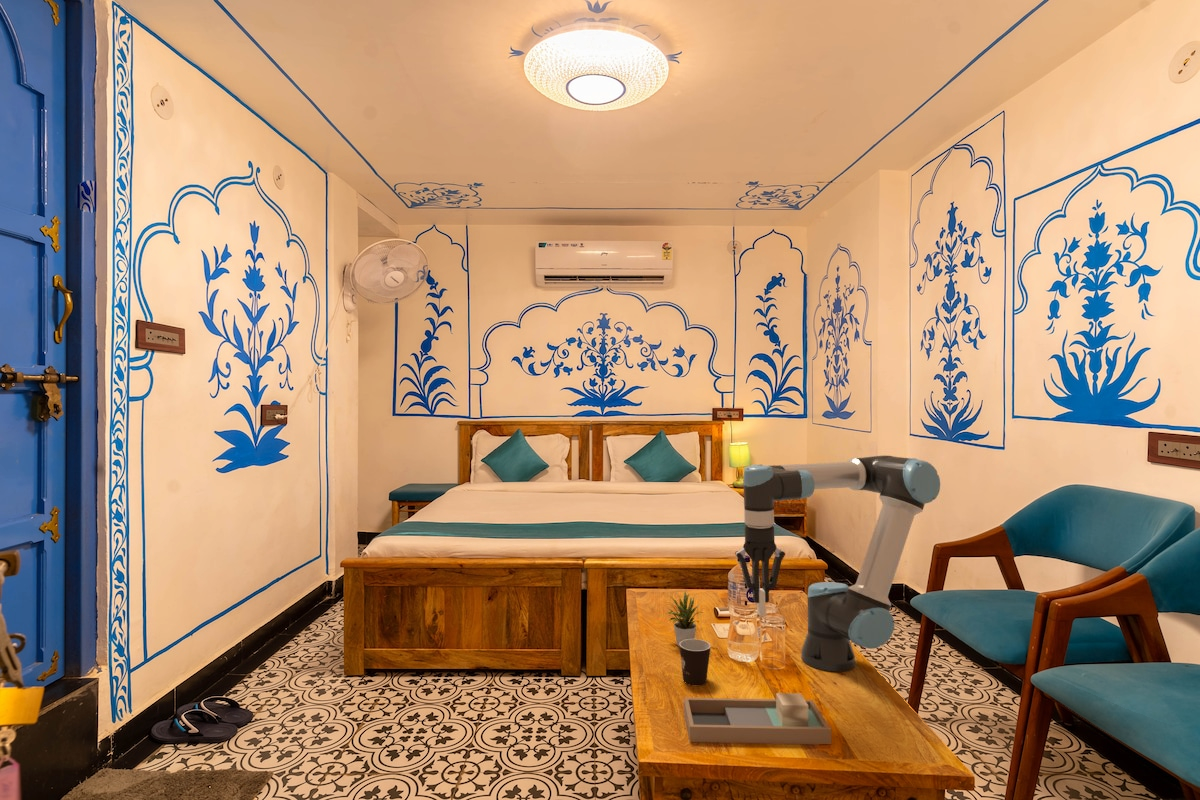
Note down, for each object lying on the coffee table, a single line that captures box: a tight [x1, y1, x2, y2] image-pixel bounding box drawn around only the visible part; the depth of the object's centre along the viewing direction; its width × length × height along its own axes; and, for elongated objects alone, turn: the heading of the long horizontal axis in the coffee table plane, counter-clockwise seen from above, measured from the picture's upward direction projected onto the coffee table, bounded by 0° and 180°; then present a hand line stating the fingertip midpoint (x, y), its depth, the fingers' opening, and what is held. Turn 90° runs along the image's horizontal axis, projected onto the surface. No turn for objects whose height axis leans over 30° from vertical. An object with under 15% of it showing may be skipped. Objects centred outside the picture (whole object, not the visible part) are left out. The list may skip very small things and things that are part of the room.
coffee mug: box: [678, 638, 711, 686], centre depth 180 cm, size 12×9×10 cm
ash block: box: [775, 692, 808, 727], centre depth 153 cm, size 6×6×5 cm
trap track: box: [683, 697, 832, 745], centre depth 154 cm, size 32×14×4 cm, turn 88°
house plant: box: [664, 591, 704, 648], centre depth 205 cm, size 14×14×16 cm
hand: (761, 614), depth 169 cm, fingers closed
